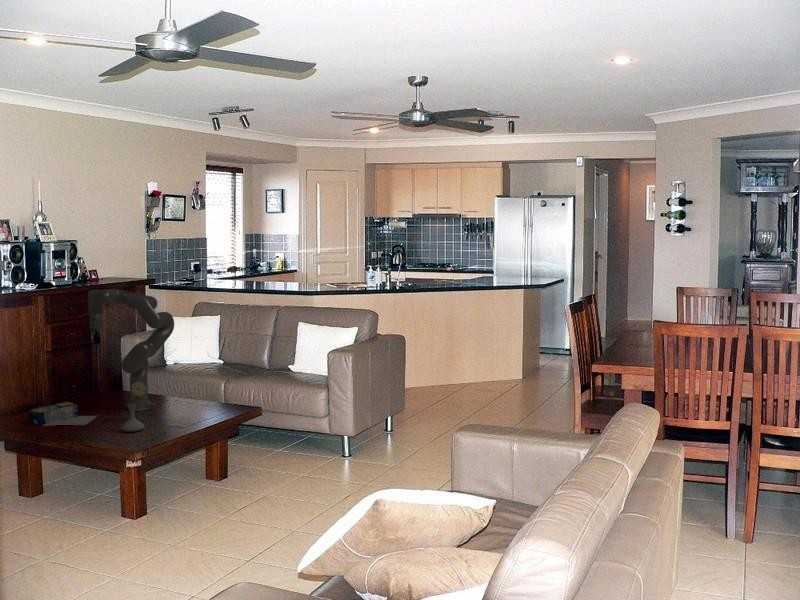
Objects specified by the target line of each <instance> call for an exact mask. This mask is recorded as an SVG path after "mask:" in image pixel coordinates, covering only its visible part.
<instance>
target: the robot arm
mask: <svg viewBox="0 0 800 600" xmlns="http://www.w3.org/2000/svg"><path fill="white" fill-rule="evenodd" d="M87 302H88V303H87V305H88V315H89V329H90V333H92V337H93V345H100V344H101V332H102V331H104V329H105V328H104V319H103V313H104V312H103V311H104V310H103V307H104V306H103V304H110V303H119V304H125V305H126V307H127V308H129V309H135V310H136V312H137V313H138V314H139V316H140V317H141V318H142V319H143V321H144V322H145V323H146V325H147V326H148V327H150V328H151V329H153V332H152V333H151V334H150V336H148V338H147V339H146V340H144V341H140V342H138V343H136V344H135V345H134V346H133V347H132V348H131V349H130V351H129V352H128V353H127V354H126V355H125V356H124V358H123V360H122V361H121V369H122V370H123V372H125V373H126V374H129V391H130V392H129V395H130V399H132V400H133V401H134V400H135V401H134V403H137V405H136V406H135V411H134V412H145V411H149V410H151V409H152V407H155V406H157V403H156V402H154V401H153V402H151V400H150V399H149V386H148V380H149V379H148V373H149V372H148V370H149V358H152V357H155V355H156V354H157V352H158V351H159V350H160V349H161V347H163V345H164V344H166V341H167V340H168V339H169V338H170V336H172V334H173V331H174V329H175V320H174V317H173V315H172V314H171V313H170V312H168V311H167V312H166V311H159V312H157V311H156V309H157V307H158V300H157V298H155V296H152V295H146V294H141V293H134V292H131V291H128V290H123V289H117V288H108V289H102V290H100V289H90V290H88V291H87ZM136 382H141V383H143V385H145V387H146V393H145V394H144V395H142V397H143V398H144V400H141V401H138V400H137V399H135V398H137V397H138V396H137V397H136V395H134V394H133V392H132V391H131V388H132V384H134V383H136ZM133 401H130V403H133ZM148 409H149V410H148ZM127 410H128V411H129V407H128V408H127Z"/></svg>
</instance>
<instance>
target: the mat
mask: <svg viewBox="0 0 800 600" xmlns="http://www.w3.org/2000/svg"><path fill="white" fill-rule="evenodd" d="M97 417H98V415H78V417H75V418H69V419H66V420H65V419H64V420H58V421H53V422H48V423H46V424H41V425H42V427H56V426H55V425H74V426H86V425H87V424H89V423H90V422H92V421H93V420H94V419H95V418H97Z"/></svg>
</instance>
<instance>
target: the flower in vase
mask: <svg viewBox="0 0 800 600" xmlns="http://www.w3.org/2000/svg"><path fill="white" fill-rule="evenodd" d="M131 391H132V392H133V394H134V395H136V397H137V396H138V397H137V398H135V399H137V400H138V401H141V400H144V398H143V397H142V395H144V394H145V393H146V387H145V385H143V383H141V382H136V383H134V384H132V388H131ZM126 400H127V401H129V403H126V406H127V407H128V408H129V410H128V411H129V418H128V420H127V421H125V422H124V423H123V424H122V425H121V427H120V430H121V431H123V432H128V433H129V432H130V433H131V432H138V431H141V430H143V429H144V428H145V424H144V423H142V422H141V421H139V420H138V419H137V418H136V416H135V412H136V411H135V406H136V405H137V403H134V401H135V400H134V401H133V400H132V399H131V398H129V397H126ZM131 401H133V403H131Z"/></svg>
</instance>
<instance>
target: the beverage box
mask: <svg viewBox="0 0 800 600" xmlns="http://www.w3.org/2000/svg"><path fill="white" fill-rule="evenodd" d="M27 411H28V412H27V415H28V422H29V423H30V422H32V423H31V424H33V423H35V424H34V425H36V424H41V425H44V424H43V423H48V422H53V421H58V420H64V419H69V418H75V417H78V416H79V414H78V413H79V412H78V404H76V403H74V402H70V401H65V402H60V403H54V404H49V405H45V406H44V405H43V406H39V407H35V408H29V409H28V410H27Z"/></svg>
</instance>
